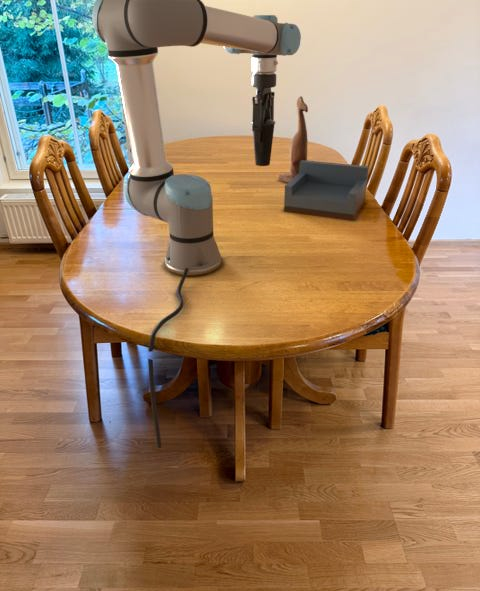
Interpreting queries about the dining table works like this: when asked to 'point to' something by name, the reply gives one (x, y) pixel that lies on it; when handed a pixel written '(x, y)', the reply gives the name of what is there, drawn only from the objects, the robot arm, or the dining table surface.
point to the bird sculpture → (297, 144)
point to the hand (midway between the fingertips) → (262, 149)
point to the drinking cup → (265, 143)
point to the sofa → (327, 190)
